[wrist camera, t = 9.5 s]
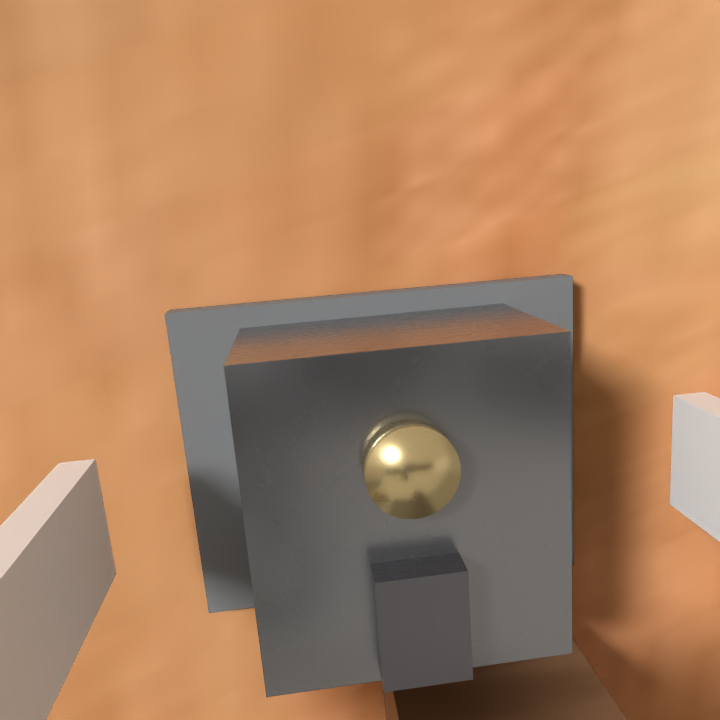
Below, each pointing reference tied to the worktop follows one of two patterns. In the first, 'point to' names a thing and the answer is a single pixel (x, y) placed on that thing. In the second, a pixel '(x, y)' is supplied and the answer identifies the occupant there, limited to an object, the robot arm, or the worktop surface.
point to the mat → (211, 409)
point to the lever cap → (404, 494)
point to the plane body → (513, 693)
